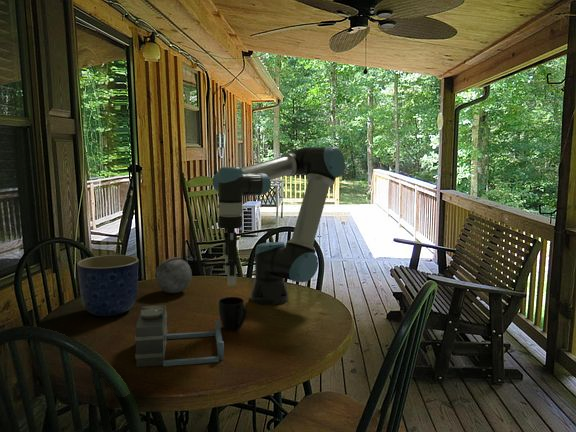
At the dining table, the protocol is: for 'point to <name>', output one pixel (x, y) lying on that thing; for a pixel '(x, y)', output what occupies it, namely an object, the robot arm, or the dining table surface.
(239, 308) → the mug
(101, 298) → the planter
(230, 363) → the dining table surface
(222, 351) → the clip bracket
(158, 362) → the grey stepped block
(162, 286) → the decorative orb
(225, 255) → the robot arm
